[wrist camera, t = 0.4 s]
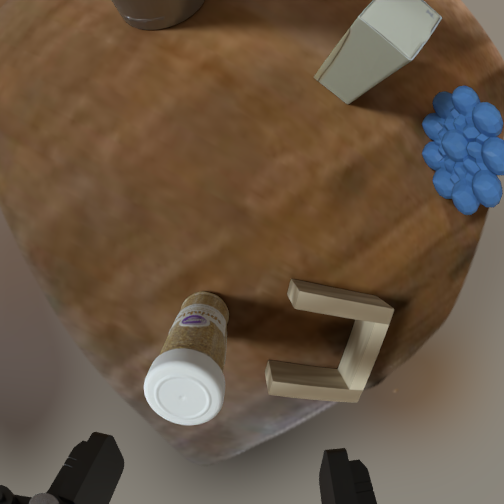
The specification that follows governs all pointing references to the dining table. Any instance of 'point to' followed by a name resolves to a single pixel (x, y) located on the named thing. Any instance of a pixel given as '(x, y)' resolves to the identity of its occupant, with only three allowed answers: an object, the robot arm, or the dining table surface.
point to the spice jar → (191, 363)
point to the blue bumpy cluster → (465, 149)
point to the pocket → (356, 352)
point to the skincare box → (377, 46)
